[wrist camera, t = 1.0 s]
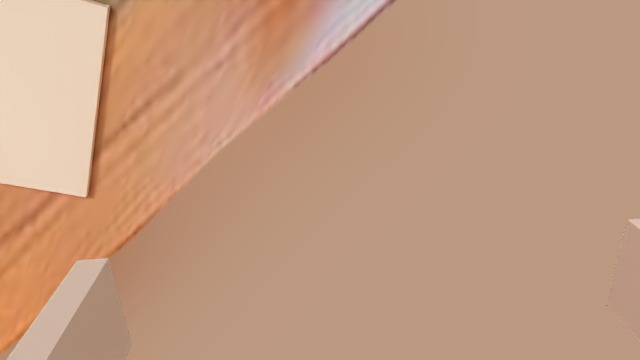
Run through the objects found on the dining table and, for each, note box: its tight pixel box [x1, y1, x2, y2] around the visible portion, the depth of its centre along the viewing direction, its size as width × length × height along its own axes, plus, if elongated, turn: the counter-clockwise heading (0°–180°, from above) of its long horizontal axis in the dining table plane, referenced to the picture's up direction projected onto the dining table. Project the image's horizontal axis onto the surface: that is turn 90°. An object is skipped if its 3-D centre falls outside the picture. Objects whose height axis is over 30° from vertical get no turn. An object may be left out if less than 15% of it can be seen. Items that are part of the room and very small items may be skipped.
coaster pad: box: [0, 0, 110, 197], centre depth 32 cm, size 14×11×1 cm
